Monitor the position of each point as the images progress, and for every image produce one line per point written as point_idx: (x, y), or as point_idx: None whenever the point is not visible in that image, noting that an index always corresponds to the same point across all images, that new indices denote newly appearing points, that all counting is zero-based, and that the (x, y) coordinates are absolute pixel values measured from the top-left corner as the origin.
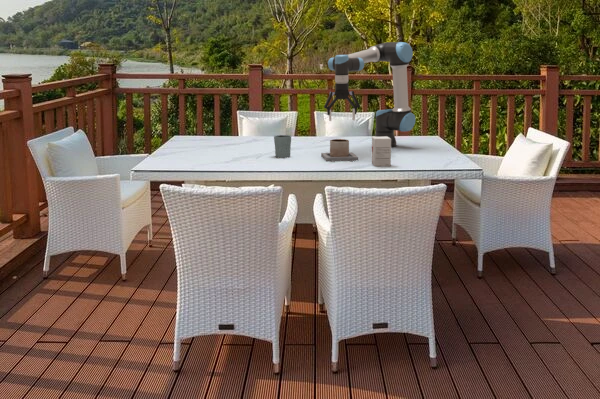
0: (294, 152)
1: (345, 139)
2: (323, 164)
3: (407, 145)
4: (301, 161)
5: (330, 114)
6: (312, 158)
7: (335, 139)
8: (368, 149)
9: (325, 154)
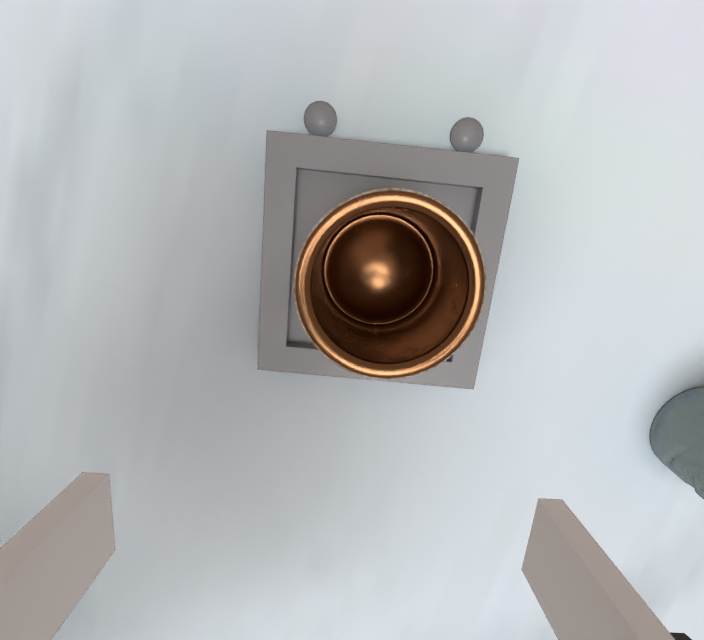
0: None
1: (313, 334)
2: (579, 21)
3: None
4: (671, 209)
5: (652, 627)
6: (549, 317)
7: (407, 365)
8: None
9: None
